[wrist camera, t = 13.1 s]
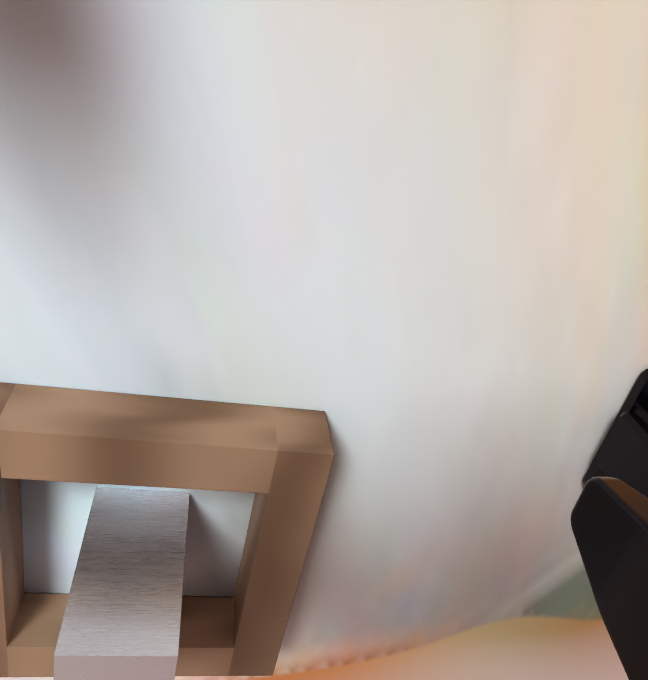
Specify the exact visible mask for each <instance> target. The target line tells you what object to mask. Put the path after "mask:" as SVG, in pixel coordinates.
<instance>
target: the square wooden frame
mask: <svg viewBox="0 0 648 680" xmlns="http://www.w3.org/2000/svg"><path fill="white" fill-rule="evenodd" d="M333 458H334V451H333V447H332V442H331V437H330V433H329V428H328V424H327V419H326V415H325V411H315V410H304V409H292V408H281V407H270V406H259V405H248V404H236V403H225V402H214V401H203V400H192V399H180V398H169V397H158V396H147V395H136V394H124V393H113V392H102V391H91V390H79V389H68V388H57V387H46V386H35V385H23V384H12V383H1V382H0V468H1V478H2V487H3V507H2V512H1V516H0V677H54V653H55V649H56V645H57V641H58V637H59V633H60V629H61V625H62V621H63V617H64V613H65V609H66V605H67V601H68V597H69V594H42V593H24V572H23V546H22V521H21V495H20V479H29V480H46V481H63V482H80V483H97V484H114V485H131V486H148V487H166V488H183V489H200V490H217V491H234V492H251V493H255V498H254V502H253V507H252V512H251V517H250V522H249V526H248V531H247V536H246V541H245V546H244V550H243V555H242V560H241V565H240V570H239V574H238V579H237V584H236V589H235V594H234V598H229V597H182V606H181V620H180V634H179V648H178V659H177V665H176V671H175V676H271V675H273V672H274V669H275V665H276V662H277V658H278V654H279V651H280V647H281V644H282V640H283V637H284V633H285V629H286V626H287V622H288V619H289V615H290V611H291V608H292V604H293V601H294V597H295V594H296V590H297V586H298V583H299V579H300V576H301V572H302V569H303V565H304V561H305V558H306V554H307V551H308V547H309V544H310V540H311V536H312V533H313V529H314V526H315V522H316V518H317V515H318V511H319V508H320V504H321V501H322V497H323V493H324V490H325V486H326V483H327V479H328V476H329V472H330V468H331V465H332V461H333Z"/></svg>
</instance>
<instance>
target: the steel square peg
mask: <svg viewBox="0 0 648 680" xmlns="http://www.w3.org/2000/svg"><path fill="white" fill-rule="evenodd" d="M188 507H189V493H180V492H164V491H147V490H131V489H114V488H98V487H96V490H95V494H94V498H93V502H92V506H91V510H90V514H89V518H88V522H87V526H86V530H85V534H84V538H83V542H82V546H81V550H80V554H79V558H78V562H77V566H76V570H75V573H74V577H73V581H72V585H71V589H70V593H69V597H68V601H67V605H66V609H65V613H64V617H63V621H62V625H61V629H60V633H59V637H58V641H57V645H56V649H55V653H54V680H174V677H175V671H176V665H177V659H178V648H179V634H180V620H181V606H182V592H183V578H184V563H185V549H186V535H187V521H188Z"/></svg>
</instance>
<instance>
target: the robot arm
mask: <svg viewBox="0 0 648 680" xmlns="http://www.w3.org/2000/svg"><path fill="white" fill-rule="evenodd" d="M583 485H584V486H585V487H584V489H583V491H582V493H581V495H580V496H579V498H578V500H577V502H576V504H575V506H574V508H573V510H572V513H571V526H572V530H573V533H574V536H575V539H576V542H577V545H578V548H579V551H580V554H581V557H582V560H583V563H584V566H585V569H586V572H587V575H588V578H589V582H590V585H591V588H592V591H593V594H594V597H595V600H596V602H597V605H598V608H599V611H600V614H601V616H602V619H603V621H604V623H605V626H606V628H607V630H608V633H609V635H610V637H611V640H612V642H613V644H614V647H615V649H616V651H617V653H618V656H619V658H620V660H621V663H622V665H623V667H624V669H625V672H626V674H627V676H628V679H629V680H648V369H646V370H645V371H644V372H643V373H642V374H641V375H640V377H639V379H638V380H637V382H636V384H635V386H634V388H633V390H632V391H631V393H630V395H629V397H628V399H627V401H626V403H625V404H624V406H623V408H622V410H621V412H620V414H619V415H618V417H617V419H616V421H615V423H614V425H613V426H612V428H611V430H610V432H609V434H608V436H607V437H606V439H605V441H604V443H603V445H602V447H601V448H600V450H599V452H598V454H597V456H596V458H595V459H594V461H593V463H592V465H591V467H590V469H589V470H588V472H587V474H586V476H585V478H584V480H583ZM2 507H3V487H2V478H1V468H0V516H1V512H2Z"/></svg>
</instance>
